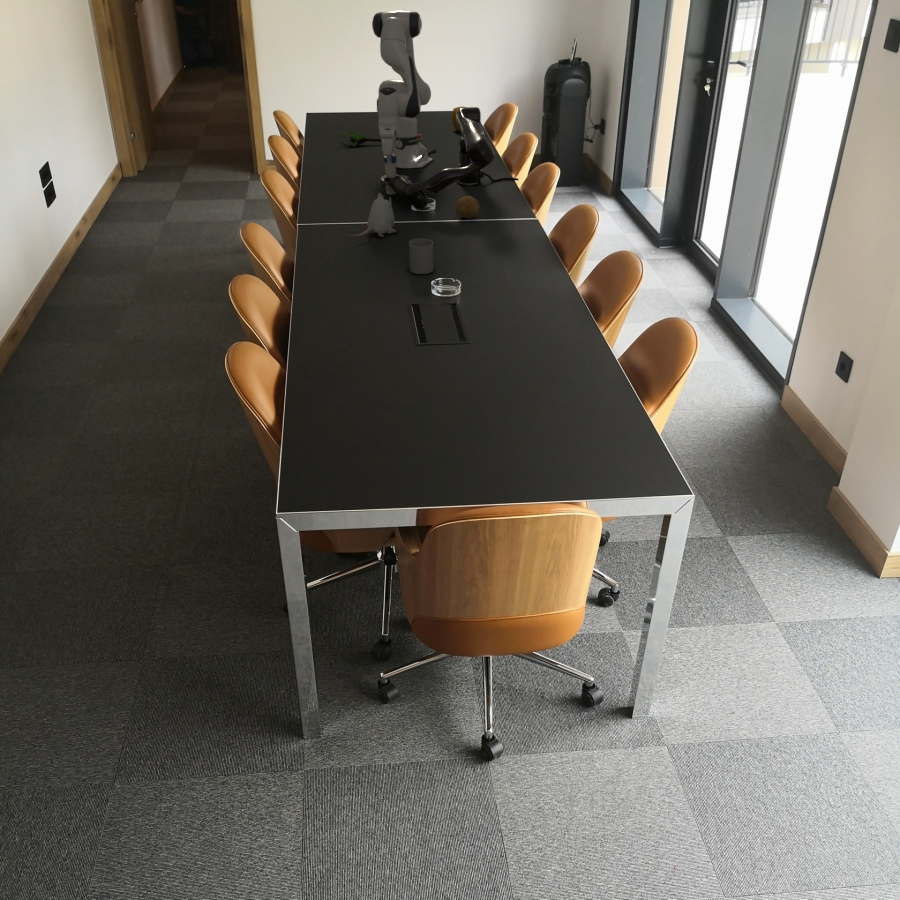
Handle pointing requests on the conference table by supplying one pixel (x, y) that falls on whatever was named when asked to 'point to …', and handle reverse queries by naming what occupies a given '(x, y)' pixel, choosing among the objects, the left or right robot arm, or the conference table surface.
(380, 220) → the toy
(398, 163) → the left robot arm
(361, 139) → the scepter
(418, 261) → the cup
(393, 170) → the jar
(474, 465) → the conference table surface
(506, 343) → the conference table surface
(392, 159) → the lid
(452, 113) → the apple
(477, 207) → the potato
